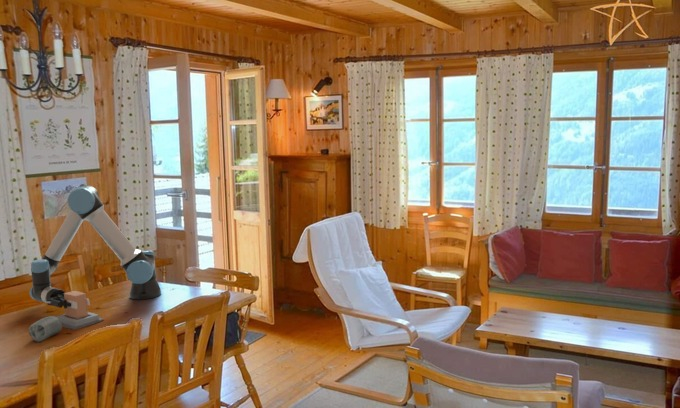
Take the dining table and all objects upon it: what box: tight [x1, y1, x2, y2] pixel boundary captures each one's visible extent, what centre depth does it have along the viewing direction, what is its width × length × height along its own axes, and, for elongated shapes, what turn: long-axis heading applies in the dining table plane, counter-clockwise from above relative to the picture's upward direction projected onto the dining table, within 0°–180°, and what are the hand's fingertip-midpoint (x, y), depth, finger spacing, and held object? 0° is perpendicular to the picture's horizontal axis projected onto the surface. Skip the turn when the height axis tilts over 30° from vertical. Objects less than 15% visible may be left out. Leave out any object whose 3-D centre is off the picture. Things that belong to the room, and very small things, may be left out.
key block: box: [64, 290, 89, 319], centre depth 259 cm, size 5×9×10 cm, turn 55°
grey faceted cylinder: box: [28, 315, 63, 343], centre depth 241 cm, size 14×10×10 cm
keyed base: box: [55, 311, 104, 331], centre depth 260 cm, size 14×17×3 cm
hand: (82, 303), depth 256 cm, fingers closed on key block, 5 cm apart
